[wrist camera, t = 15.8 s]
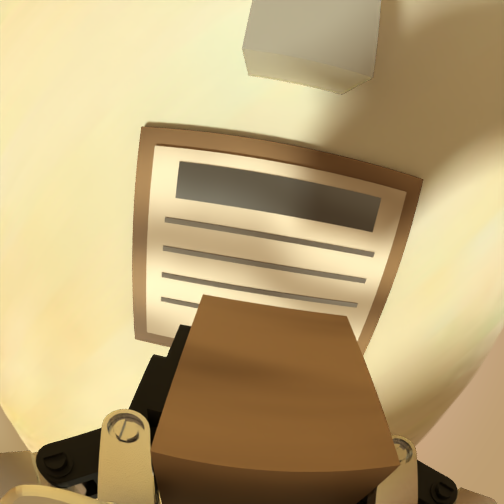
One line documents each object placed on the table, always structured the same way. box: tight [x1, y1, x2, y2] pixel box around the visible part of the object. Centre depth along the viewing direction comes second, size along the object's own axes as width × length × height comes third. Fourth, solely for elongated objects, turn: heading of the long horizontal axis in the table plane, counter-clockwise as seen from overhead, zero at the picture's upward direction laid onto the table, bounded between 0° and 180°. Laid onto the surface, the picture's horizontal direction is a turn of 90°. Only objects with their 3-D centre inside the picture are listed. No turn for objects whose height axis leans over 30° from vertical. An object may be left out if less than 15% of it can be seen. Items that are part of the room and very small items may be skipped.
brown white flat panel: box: [132, 127, 423, 355], centre depth 17 cm, size 14×16×1 cm
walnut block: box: [150, 294, 400, 504], centre depth 8 cm, size 5×5×6 cm
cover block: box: [242, 0, 381, 95], centre depth 11 cm, size 5×5×5 cm
